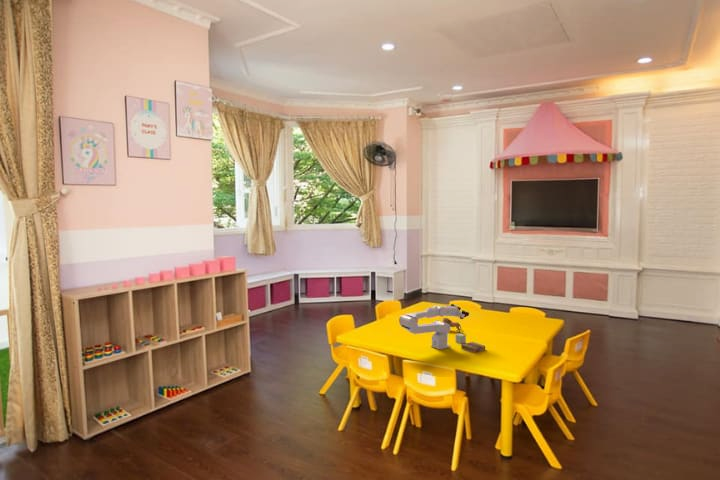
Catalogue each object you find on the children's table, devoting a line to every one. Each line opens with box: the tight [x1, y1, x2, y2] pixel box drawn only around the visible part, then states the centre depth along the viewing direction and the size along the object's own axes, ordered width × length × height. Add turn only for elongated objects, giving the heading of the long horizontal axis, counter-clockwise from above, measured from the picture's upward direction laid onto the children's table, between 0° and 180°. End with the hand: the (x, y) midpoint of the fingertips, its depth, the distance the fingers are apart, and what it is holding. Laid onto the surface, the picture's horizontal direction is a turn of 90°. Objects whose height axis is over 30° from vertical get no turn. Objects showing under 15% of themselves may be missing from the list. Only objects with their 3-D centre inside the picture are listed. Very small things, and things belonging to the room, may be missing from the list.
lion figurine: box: [442, 317, 464, 334], centre depth 311 cm, size 15×5×9 cm, turn 66°
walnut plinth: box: [460, 341, 486, 354], centre depth 273 cm, size 10×10×3 cm
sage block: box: [455, 332, 467, 345], centre depth 286 cm, size 4×4×5 cm
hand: (464, 311), depth 288 cm, fingers open, 7 cm apart
